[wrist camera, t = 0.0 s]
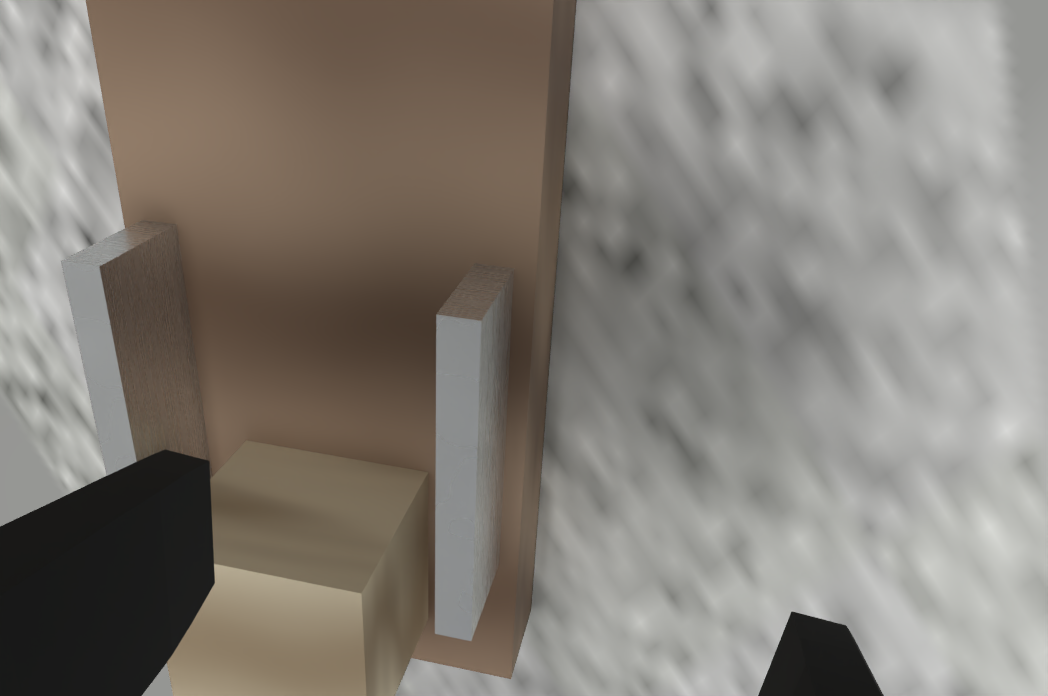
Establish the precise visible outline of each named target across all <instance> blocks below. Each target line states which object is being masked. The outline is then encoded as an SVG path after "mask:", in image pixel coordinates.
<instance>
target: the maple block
mask: <svg viewBox="0 0 1048 696" xmlns="http://www.w3.org/2000/svg"><path fill="white" fill-rule="evenodd" d="M210 485H211V507H212V529H213V551H214V573H215V584H214V586H213V587H212V589H211V591H210V593H209V594H208V596H207V598H206V600H205V601H204V603H203V605H202V607H201V608H200V610H199V612H198V614H197V615H196V617H195V619H194V621H193V622H192V624H191V625H190V627H189V629H188V630H187V632H186V634H185V635H184V637H183V639H182V640H181V642H180V643H179V645H178V647H177V648H176V650H175V652H174V653H173V655H172V656H171V657H170V659H169V660H168V661H167V666H168V671H169V676H170V681H171V686H172V691H173V696H395V694H396V692H397V689H398V687H399V685H400V682H401V680H402V678H403V675H404V673H405V671H406V669H407V666H408V664H409V662H410V659H411V657H412V655H413V652H414V650H415V648H416V646H417V643H418V641H419V639H420V636H421V634H422V632H423V629H424V627H425V625H426V623H427V620H428V472H424V471H418V470H413V469H407V468H401V467H395V466H390V465H384V464H378V463H373V462H367V461H361V460H356V459H350V458H344V457H338V456H333V455H327V454H321V453H316V452H310V451H304V450H298V449H293V448H287V447H281V446H276V445H270V444H264V443H258V442H253V441H247V440H246V441H245V443H244V444H243V445H242V446H241V447H240V448H239V449H238V450H237V451H236V452H235V453H234V454H233V455H232V456H231V458H230V459H229V460H228V461H227V462H226V463H225V464H224V465H223V466H222V467H221V468H220V469H219V470H218V471H217V473H216V474H215V475H214V476H213V477H212V478H211V479H210Z"/></svg>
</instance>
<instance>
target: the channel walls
mask: <svg viewBox="0 0 1048 696" xmlns="http://www.w3.org/2000/svg"><path fill="white" fill-rule="evenodd" d="M61 264H62V268H63V273H64V278H65V282H66V287H67V292H68V296H69V301H70V306H71V311H72V315H73V320H74V325H75V329H76V334H77V339H78V343H79V348H80V353H81V357H82V362H83V367H84V371H85V376H86V381H87V386H88V390H89V395H90V400H91V404H92V409H93V414H94V418H95V423H96V428H97V432H98V437H99V442H100V446H101V451H102V456H103V461H104V465H105V470H106V475H110V474H112V473H114V472H116V471H118V470H120V469H122V468H124V467H126V466H129V465H131V464H133V463H135V462H137V461H139V460H141V459H144V458H146V457H148V456H151V455H153V454H155V453H158V452H160V451H162V450H165V449H166V450H169V451H173V452H177V453H181V454H185V455H189V456H193V457H197V458H200V459H204V460H208V461H209V463H210V479H211V478H212V477H213V476H212V469H211V462H210V455H209V448H208V441H207V434H206V427H205V420H204V413H203V406H202V399H201V392H200V385H199V378H198V371H197V364H196V357H195V350H194V343H193V336H192V329H191V322H190V315H189V308H188V301H187V294H186V287H185V280H184V273H183V266H182V259H181V252H180V245H179V238H178V231H177V224H170V223H162V222H155V221H147V220H141V221H139V222H137V223H135V224H133V225H131V226H129V227H127V228H125V229H123V230H121V231H119V232H117V233H115V234H113V235H111V236H109V237H108V238H106V239H104V240H102V241H100V242H98V243H96V244H94V245H92V246H90V247H88V248H86V249H84V250H82V251H80V252H78V253H76V254H74V255H72V256H70V257H68V258H66V259H64V260H62V261H61ZM513 280H514V268H506V267H499V266H491V265H483V264H476V263H475V264H474V265H473V266H472V268H471V269H470V270H469V272H468V273H467V274H466V276H465V277H464V278H463V280H462V281H461V282H460V284H459V285H458V286H457V288H456V289H455V290H454V292H453V293H452V294H451V296H450V297H449V298H448V300H447V301H446V302H445V304H444V305H443V306H442V308H441V309H440V310H439V312H438V313H437V314H436V494H435V634H439V635H443V636H448V637H453V638H458V639H463V640H468V641H471V640H472V638H473V635H474V632H475V629H476V627H477V624H478V621H479V618H480V615H481V613H482V610H483V607H484V604H485V602H486V599H487V596H488V593H489V591H490V588H491V585H492V582H493V579H494V577H495V574H496V571H497V568H498V566H499V562H500V542H501V522H502V502H503V482H504V461H505V441H506V421H507V401H508V381H509V361H510V341H511V321H512V300H513Z"/></svg>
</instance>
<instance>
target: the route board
mask: <svg viewBox="0 0 1048 696" xmlns="http://www.w3.org/2000/svg"><path fill="white" fill-rule="evenodd" d="M86 5H87V10H88V16H89V22H90V28H91V34H92V39H93V45H94V51H95V57H96V62H97V68H98V74H99V80H100V86H101V91H102V97H103V103H104V109H105V115H106V120H107V126H108V132H109V138H110V144H111V149H112V155H113V161H114V167H115V172H116V178H117V184H118V190H119V196H120V201H121V207H122V213H123V219H124V225H125V228H127V227H129V226H131V225H133V224H135V223H137V222H139V221H141V220H147V221H155V222H162V223H170V224H177V231H178V238H179V245H180V252H181V259H182V266H183V273H184V280H185V287H186V294H187V301H188V308H189V315H190V322H191V329H192V336H193V343H194V350H195V357H196V364H197V371H198V378H199V385H200V392H201V399H202V406H203V413H204V420H205V427H206V434H207V441H208V448H209V455H210V462H211V469H212V476H214V475H215V474H216V473H217V471H218V470H219V469H220V468H221V467H222V466H223V465H224V464H225V463H226V462H227V461H228V460H229V459H230V458H231V456H232V455H233V454H234V453H235V452H236V451H237V450H238V449H239V448H240V447H241V446H242V445H243V444H244V443H245V441H246V440H247V441H253V442H258V443H264V444H270V445H276V446H281V447H287V448H293V449H298V450H304V451H310V452H316V453H321V454H327V455H333V456H338V457H344V458H350V459H356V460H361V461H367V462H373V463H378V464H384V465H390V466H395V467H401V468H407V469H413V470H418V471H424V472H428V620H427V623H426V625H425V627H424V629H423V632H422V634H421V636H420V639H419V641H418V643H417V646H416V648H415V650H414V652H413V655H412V657H411V658H415V659H420V660H424V661H429V662H434V663H438V664H443V665H448V666H452V667H457V668H462V669H466V670H471V671H476V672H480V673H485V674H490V675H494V676H499V677H504V678H508V679H511V677H512V673H513V670H514V667H515V663H516V660H517V656H518V653H519V649H520V646H521V643H522V639H523V636H524V632H525V629H526V625H527V622H528V618H529V615H530V612H531V603H532V590H533V576H534V563H535V549H536V536H537V523H538V509H539V496H540V482H541V469H542V455H543V442H544V428H545V415H546V402H547V388H548V375H549V361H550V348H551V334H552V321H553V307H554V294H555V280H556V267H557V254H558V240H559V227H560V213H561V200H562V186H563V173H564V159H565V146H566V133H567V119H568V106H569V92H570V79H571V65H572V52H573V38H574V25H575V12H576V0H86ZM475 263H476V264H483V265H491V266H499V267H506V268H514V280H513V300H512V321H511V341H510V361H509V381H508V401H507V421H506V441H505V461H504V482H503V502H502V522H501V542H500V562H499V566H498V568H497V571H496V574H495V577H494V579H493V582H492V585H491V588H490V591H489V593H488V596H487V599H486V602H485V604H484V607H483V610H482V613H481V615H480V618H479V621H478V624H477V627H476V629H475V632H474V635H473V638H472V640H471V641H468V640H463V639H458V638H453V637H448V636H443V635H439V634H435V494H436V314H437V313H438V312H439V310H440V309H441V308H442V306H443V305H444V304H445V302H446V301H447V300H448V298H449V297H450V296H451V294H452V293H453V292H454V290H455V289H456V288H457V286H458V285H459V284H460V282H461V281H462V280H463V278H464V277H465V276H466V274H467V273H468V272H469V270H470V269H471V268H472V266H473V265H474V264H475Z"/></svg>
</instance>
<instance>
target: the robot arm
mask: <svg viewBox="0 0 1048 696" xmlns="http://www.w3.org/2000/svg"><path fill="white" fill-rule="evenodd" d="M214 584H215V573H214V551H213V529H212V507H211V485H210V463H209V461H208V460H204V459H200V458H197V457H193V456H189V455H185V454H181V453H177V452H173V451H169V450H166V449H165V450H162V451H160V452H158V453H155V454H153V455H151V456H148V457H146V458H144V459H141V460H139V461H137V462H135V463H133V464H131V465H129V466H126V467H124V468H122V469H120V470H118V471H116V472H114V473H112V474H110V475H107V476H105V477H103V478H101V479H99V480H97V481H95V482H93V483H91V484H89V485H87V486H85V487H83V488H81V489H78V490H76V491H74V492H72V493H70V494H68V495H66V496H64V497H62V498H60V499H58V500H56V501H54V502H51V503H50V504H47V505H45V506H43V507H41V508H39V509H37V510H34V511H32V512H30V513H28V514H26V515H24V516H22V517H20V518H18V519H15V520H14V521H11V522H9V523H7V524H5V525H3V526H1V527H0V696H142V694H143V693H144V692H145V690H146V689H147V688H148V687H149V685H150V684H151V683H152V681H153V680H154V679H155V677H156V676H157V675H158V673H159V672H160V671H161V669H162V668H163V667H164V665H165V664H166V663H167V661H168V660H169V659H170V657H171V656H172V655H173V653H174V652H175V650H176V648H177V647H178V645H179V643H180V642H181V640H182V639H183V637H184V635H185V634H186V632H187V630H188V629H189V627H190V625H191V624H192V622H193V621H194V619H195V617H196V615H197V614H198V612H199V610H200V608H201V607H202V605H203V603H204V601H205V600H206V598H207V596H208V594H209V593H210V591H211V589H212V587H213V586H214ZM758 696H884V695H883V694H882V692H881V690H880V688H879V686H878V684H877V682H876V680H875V678H874V676H873V674H872V672H871V670H870V669H869V667H868V665H867V663H866V661H865V659H864V657H863V655H862V653H861V651H860V649H859V647H858V645H857V643H856V642H855V640H854V638H853V636H852V634H851V633H850V631H849V629H848V628H847V626H846V625H842V624H838V623H834V622H830V621H826V620H823V619H819V618H815V617H811V616H807V615H803V614H799V613H796V612H791V615H790V617H789V620H788V622H787V625H786V627H785V630H784V632H783V635H782V637H781V640H780V642H779V645H778V647H777V650H776V652H775V655H774V657H773V660H772V662H771V665H770V668H769V670H768V673H767V675H766V678H765V680H764V683H763V685H762V688H761V690H760V693H759V695H758Z"/></svg>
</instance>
